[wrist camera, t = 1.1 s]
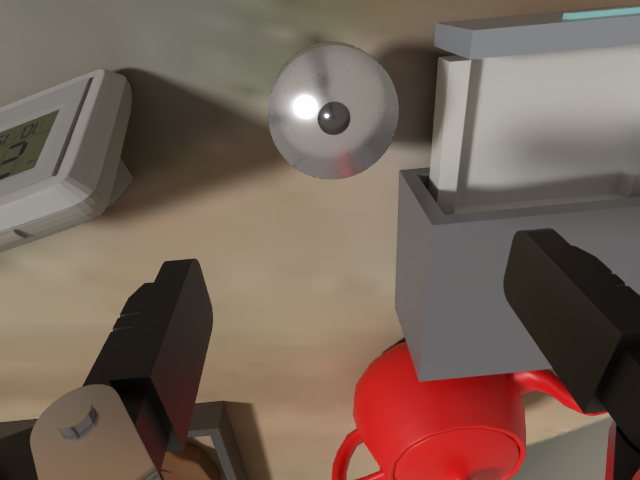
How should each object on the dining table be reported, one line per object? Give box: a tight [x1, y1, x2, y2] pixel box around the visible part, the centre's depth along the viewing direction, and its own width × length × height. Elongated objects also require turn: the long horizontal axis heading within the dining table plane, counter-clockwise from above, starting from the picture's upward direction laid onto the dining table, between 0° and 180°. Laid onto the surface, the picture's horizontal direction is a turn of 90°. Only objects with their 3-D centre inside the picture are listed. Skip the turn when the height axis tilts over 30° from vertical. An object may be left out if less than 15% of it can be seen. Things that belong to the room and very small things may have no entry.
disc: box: [268, 42, 399, 179], centre depth 20 cm, size 6×6×2 cm
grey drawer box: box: [428, 5, 640, 215], centre depth 24 cm, size 13×15×6 cm
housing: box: [395, 168, 640, 382], centre depth 29 cm, size 13×18×8 cm
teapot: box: [332, 342, 608, 480], centre depth 35 cm, size 25×16×12 cm, turn 123°
